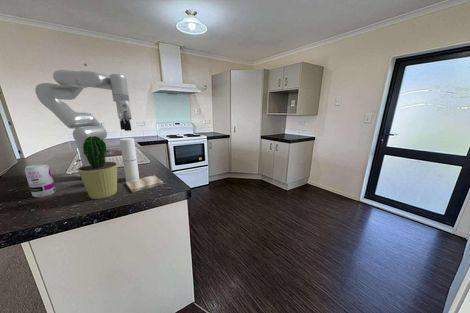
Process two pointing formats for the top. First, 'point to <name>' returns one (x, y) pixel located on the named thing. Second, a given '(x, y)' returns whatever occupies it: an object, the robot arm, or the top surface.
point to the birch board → (143, 183)
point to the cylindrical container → (129, 159)
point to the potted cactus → (98, 170)
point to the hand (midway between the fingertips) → (126, 130)
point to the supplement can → (40, 180)
